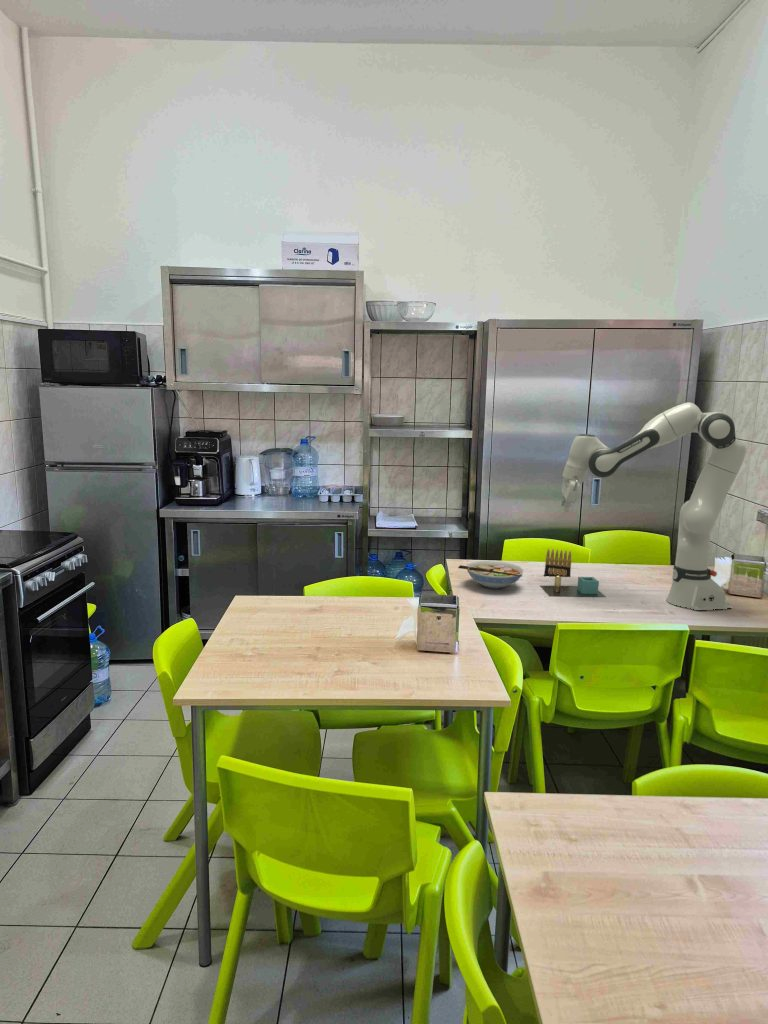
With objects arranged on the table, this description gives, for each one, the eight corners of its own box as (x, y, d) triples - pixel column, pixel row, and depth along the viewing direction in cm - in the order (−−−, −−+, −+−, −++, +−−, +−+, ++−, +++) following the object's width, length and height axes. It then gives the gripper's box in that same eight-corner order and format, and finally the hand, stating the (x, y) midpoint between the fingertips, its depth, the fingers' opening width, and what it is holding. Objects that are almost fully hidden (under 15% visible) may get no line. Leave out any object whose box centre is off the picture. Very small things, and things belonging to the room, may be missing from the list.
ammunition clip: (570, 578, 285) (572, 550, 283) (570, 579, 283) (572, 551, 281) (544, 575, 288) (546, 547, 286) (543, 576, 286) (546, 548, 284)
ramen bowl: (531, 583, 275) (532, 564, 274) (517, 599, 255) (519, 578, 253) (472, 574, 286) (473, 555, 284) (454, 588, 265) (455, 568, 264)
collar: (592, 589, 267) (593, 577, 266) (597, 593, 261) (598, 581, 260) (577, 589, 266) (578, 576, 265) (582, 593, 261) (583, 581, 260)
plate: (593, 588, 271) (595, 571, 270) (606, 599, 257) (608, 581, 256) (539, 587, 270) (540, 570, 268) (549, 599, 256) (550, 580, 255)
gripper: (586, 481, 251) (575, 516, 254) (579, 472, 270) (569, 505, 274) (569, 477, 251) (558, 512, 255) (564, 468, 271) (554, 501, 275)
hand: (564, 508), depth 264 cm, fingers open, 8 cm apart
